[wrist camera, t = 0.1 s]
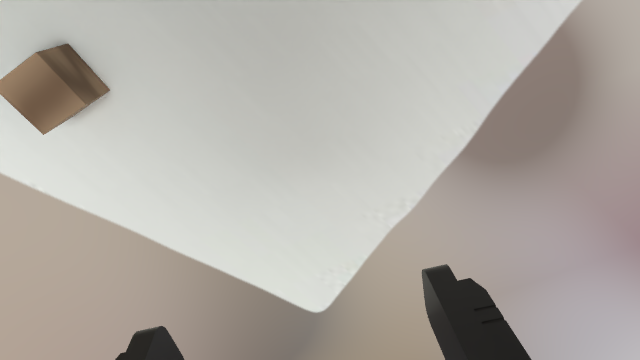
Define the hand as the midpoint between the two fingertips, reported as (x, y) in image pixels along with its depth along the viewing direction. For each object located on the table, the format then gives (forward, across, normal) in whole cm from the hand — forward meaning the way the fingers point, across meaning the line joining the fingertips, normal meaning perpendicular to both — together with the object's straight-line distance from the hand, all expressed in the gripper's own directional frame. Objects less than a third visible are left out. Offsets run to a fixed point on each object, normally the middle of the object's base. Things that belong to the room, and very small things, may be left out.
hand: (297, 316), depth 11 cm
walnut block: (+29, +20, -5) cm, 36 cm away
